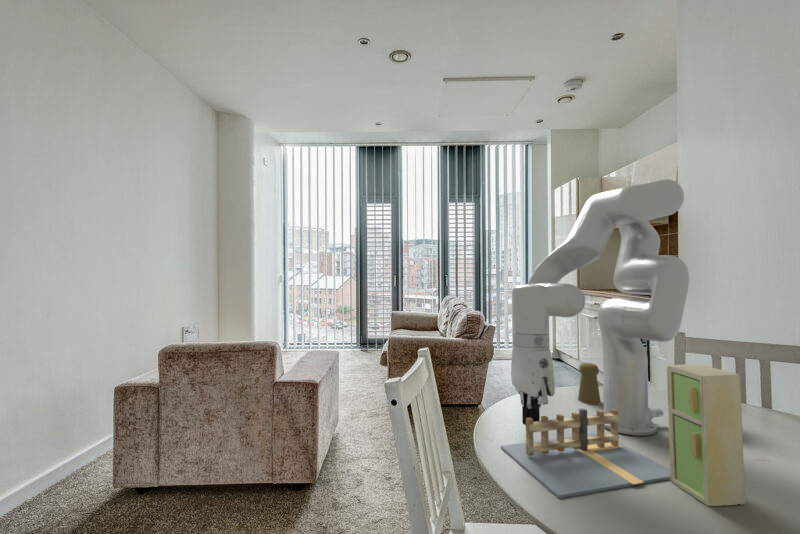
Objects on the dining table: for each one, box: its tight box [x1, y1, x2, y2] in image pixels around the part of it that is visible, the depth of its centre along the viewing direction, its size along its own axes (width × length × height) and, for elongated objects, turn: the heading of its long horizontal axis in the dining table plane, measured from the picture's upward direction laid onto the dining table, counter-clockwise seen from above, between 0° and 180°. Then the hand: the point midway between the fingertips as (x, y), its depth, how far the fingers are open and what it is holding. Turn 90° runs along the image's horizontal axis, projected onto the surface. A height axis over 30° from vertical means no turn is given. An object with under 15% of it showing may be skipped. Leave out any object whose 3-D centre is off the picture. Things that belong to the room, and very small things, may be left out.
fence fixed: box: [578, 408, 620, 451], centre depth 81 cm, size 9×2×9 cm, turn 105°
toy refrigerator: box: [666, 363, 746, 507], centre depth 65 cm, size 8×7×21 cm
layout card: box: [500, 433, 671, 499], centre depth 75 cm, size 26×20×1 cm
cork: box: [577, 362, 601, 405], centre depth 112 cm, size 6×6×11 cm
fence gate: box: [525, 412, 581, 456], centre depth 78 cm, size 12×1×7 cm, turn 105°
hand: (531, 424), depth 83 cm, fingers closed
